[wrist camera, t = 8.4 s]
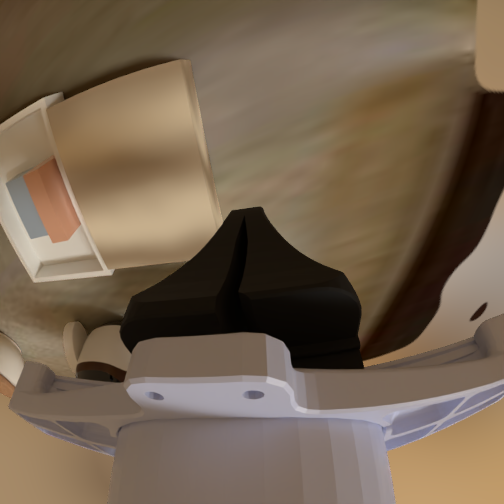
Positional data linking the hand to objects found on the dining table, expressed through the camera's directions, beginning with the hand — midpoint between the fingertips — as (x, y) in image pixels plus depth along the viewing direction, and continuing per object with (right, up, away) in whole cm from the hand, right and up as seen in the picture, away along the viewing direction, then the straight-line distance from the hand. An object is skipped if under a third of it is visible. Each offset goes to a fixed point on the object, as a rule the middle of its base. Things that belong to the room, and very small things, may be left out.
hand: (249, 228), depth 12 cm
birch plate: (-8, +5, +8) cm, 12 cm away
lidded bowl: (-46, -18, +25) cm, 56 cm away
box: (-19, +4, +8) cm, 21 cm away
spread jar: (-17, -12, +21) cm, 29 cm away
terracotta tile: (-14, +3, +6) cm, 16 cm away
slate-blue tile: (-19, +3, +7) cm, 20 cm away
